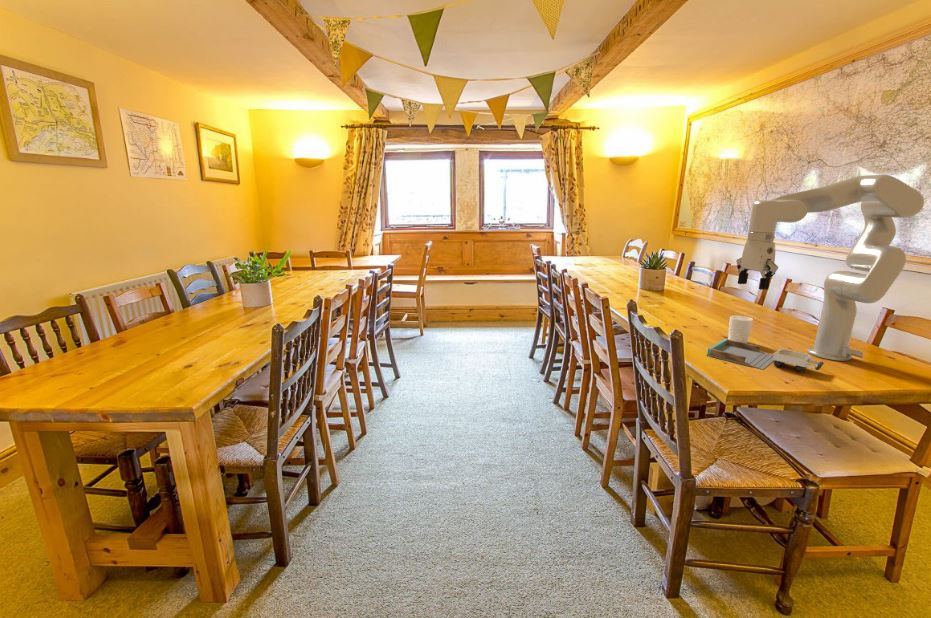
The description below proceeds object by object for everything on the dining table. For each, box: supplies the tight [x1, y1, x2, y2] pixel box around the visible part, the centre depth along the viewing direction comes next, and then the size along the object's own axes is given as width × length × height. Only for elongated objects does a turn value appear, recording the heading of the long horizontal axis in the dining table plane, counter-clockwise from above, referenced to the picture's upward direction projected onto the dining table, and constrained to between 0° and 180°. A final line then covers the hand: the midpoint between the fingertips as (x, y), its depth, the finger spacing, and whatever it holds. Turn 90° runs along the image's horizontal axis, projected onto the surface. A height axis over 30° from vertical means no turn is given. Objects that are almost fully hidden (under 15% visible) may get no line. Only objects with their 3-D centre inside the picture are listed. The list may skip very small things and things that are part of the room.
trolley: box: [772, 347, 825, 373], centre depth 146 cm, size 13×8×5 cm, turn 42°
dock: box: [706, 338, 775, 370], centre depth 158 cm, size 18×19×3 cm
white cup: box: [727, 315, 754, 344], centre depth 174 cm, size 8×8×10 cm
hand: (752, 286), depth 150 cm, fingers open, 9 cm apart
